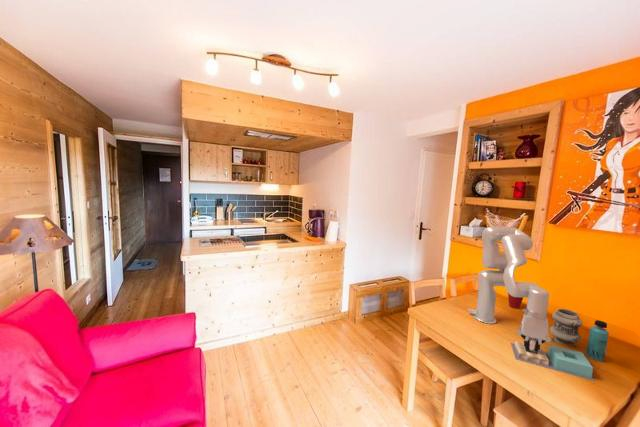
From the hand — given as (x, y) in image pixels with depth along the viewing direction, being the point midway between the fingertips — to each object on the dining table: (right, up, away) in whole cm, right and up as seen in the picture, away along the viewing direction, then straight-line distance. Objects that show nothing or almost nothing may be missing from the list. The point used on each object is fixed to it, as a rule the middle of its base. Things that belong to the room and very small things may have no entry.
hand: (531, 348), depth 128 cm
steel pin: (0, -3, 0) cm, 3 cm away
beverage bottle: (+32, -6, +1) cm, 32 cm away
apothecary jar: (+28, -4, +14) cm, 32 cm away
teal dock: (+12, -4, -6) cm, 14 cm away
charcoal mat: (+6, -5, -3) cm, 8 cm away
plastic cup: (+33, +1, +55) cm, 64 cm away
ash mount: (0, -3, 0) cm, 3 cm away
